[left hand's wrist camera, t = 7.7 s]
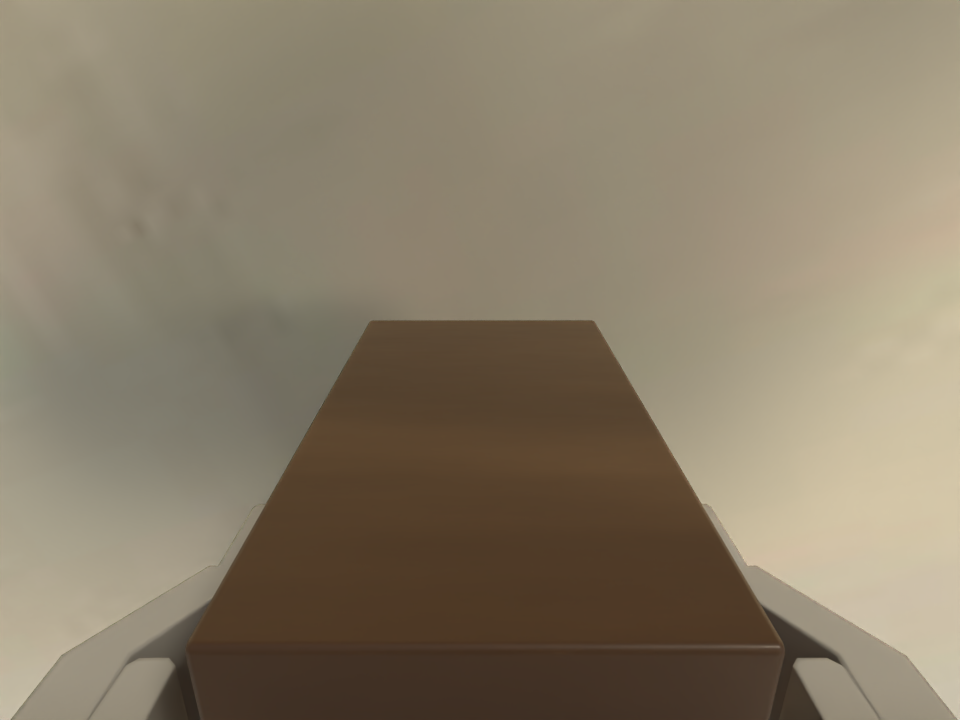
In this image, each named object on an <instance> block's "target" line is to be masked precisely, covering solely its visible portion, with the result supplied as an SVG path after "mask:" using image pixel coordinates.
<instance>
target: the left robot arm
mask: <svg viewBox="0 0 960 720" xmlns="http://www.w3.org/2000/svg"><path fill="white" fill-rule="evenodd" d="M265 505H266V504H259V505H257V506H255V507H254V508H253V509H252V510H251V512H250V514H249V515H248V517H247V519H246V520H245V522H244V524H243V525H242V527H241V529H240V530H239V532H238V534H237V535H236V537H235V539H234V540H233V542H232V544H231V545H230V547H229V549H228V550H227V552H226V554H225V555H224V557H223V559H222V560H221V562H220V564H219V565H218V566H208V567H207V568H205V569H203V570H202V571H200V572H199V573H197V574H195V575H194V576H192V577H190V578H189V579H187V580H185V581H184V582H182V583H180V584H179V585H177V586H175V587H174V588H172V589H170V590H169V591H167V592H165V593H164V594H162V595H160V596H159V597H157V598H156V599H154V600H152V601H151V602H149V603H147V604H146V605H144V606H142V607H141V608H139V609H137V610H136V611H134V612H132V613H131V614H129V615H127V616H126V617H124V618H122V619H121V620H119V621H117V622H116V623H114V624H113V625H111V626H109V627H108V628H106V629H104V630H103V631H101V632H99V633H98V634H96V635H94V636H93V637H91V638H89V639H88V640H86V641H84V642H83V643H81V644H79V645H78V646H76V647H74V648H73V649H71V650H70V651H68V652H66V653H65V654H63V655H62V656H61V657H60V658H59V659H58V661H57V662H56V663H55V664H54V666H53V667H52V668H51V669H50V671H49V672H48V673H47V674H46V676H45V677H44V678H43V680H42V681H41V682H40V683H39V685H38V686H37V687H36V688H35V690H34V691H33V692H32V693H31V695H30V696H29V697H28V698H27V700H26V701H25V702H24V703H23V705H22V706H21V707H20V709H19V710H18V711H17V712H16V714H15V715H14V716H13V717H12V719H11V720H200V715H199V711H198V707H197V702H196V698H195V694H194V690H193V685H192V681H191V677H190V672H189V668H188V664H187V659H186V655H185V647H186V644H187V642H188V640H189V638H190V636H191V635H192V633H193V631H194V629H195V628H196V626H197V624H198V622H199V621H200V619H201V617H202V615H203V614H204V612H205V610H206V608H207V607H208V605H209V603H210V601H211V600H212V598H213V596H214V594H215V592H216V591H217V589H218V587H219V585H220V584H221V582H222V580H223V578H224V577H225V575H226V573H227V571H228V570H229V568H230V566H231V564H232V563H233V561H234V559H235V557H236V556H237V554H238V552H239V550H240V549H241V547H242V545H243V543H244V542H245V540H246V538H247V536H248V535H249V533H250V531H251V529H252V528H253V526H254V524H255V522H256V521H257V519H258V517H259V515H260V514H261V512H262V510H263V508H264V507H265ZM702 506H703V507H704V509H705V511H706V513H707V514H708V516H709V518H710V519H711V521H712V523H713V524H714V526H715V528H716V530H717V531H718V533H719V535H720V536H721V538H722V540H723V541H724V543H725V545H726V547H727V548H728V550H729V552H730V553H731V555H732V557H733V558H734V560H735V562H736V564H737V565H738V567H739V569H740V570H741V572H742V574H743V575H744V577H745V579H746V581H747V582H748V584H749V586H750V587H751V589H752V591H753V593H754V594H755V596H756V598H757V599H758V601H759V603H760V604H761V606H762V608H763V610H764V611H765V613H766V615H767V616H768V618H769V620H770V621H771V623H772V625H773V627H774V628H775V630H776V632H777V633H778V635H779V637H780V638H781V640H782V642H783V645H784V648H785V655H784V659H783V664H782V668H781V672H780V676H779V680H778V684H777V689H776V693H775V697H774V701H773V705H772V709H771V714H770V718H769V720H957V718H956V717H955V716H954V715H953V713H952V712H951V711H950V710H949V708H948V707H947V706H946V705H945V703H944V702H943V701H942V700H941V698H940V697H939V696H938V695H937V693H936V692H935V691H934V690H933V688H932V687H931V686H930V685H929V683H928V682H927V681H926V680H925V678H924V677H923V676H922V675H921V673H920V672H919V671H918V670H917V668H916V667H915V666H914V665H913V663H912V662H911V661H910V660H909V658H908V657H907V656H906V655H904V654H902V653H901V652H899V651H897V650H896V649H894V648H892V647H891V646H889V645H887V644H886V643H884V642H882V641H881V640H879V639H877V638H876V637H874V636H872V635H871V634H869V633H867V632H866V631H864V630H862V629H861V628H859V627H857V626H856V625H854V624H852V623H851V622H849V621H847V620H846V619H844V618H842V617H841V616H839V615H837V614H836V613H834V612H832V611H831V610H829V609H827V608H826V607H824V606H822V605H821V604H819V603H817V602H816V601H814V600H812V599H811V598H809V597H807V596H806V595H804V594H802V593H801V592H799V591H797V590H796V589H794V588H792V587H791V586H789V585H787V584H786V583H784V582H782V581H781V580H779V579H778V578H776V577H774V576H773V575H771V574H769V573H768V572H766V571H764V570H763V569H761V568H759V567H758V566H747V564H746V562H745V561H744V559H743V558H742V556H741V554H740V553H739V551H738V549H737V548H736V546H735V545H734V543H733V541H732V540H731V538H730V537H729V535H728V533H727V532H726V530H725V528H724V527H723V525H722V524H721V522H720V520H719V519H718V517H717V516H716V514H715V512H714V511H713V509H712V508H711V506H709V505H707V504H702Z"/></svg>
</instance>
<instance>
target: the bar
mask: <svg viewBox="0 0 960 720" xmlns="http://www.w3.org/2000/svg"><path fill="white" fill-rule="evenodd" d="M185 655H186V659H187V664H188V668H189V672H190V677H191V681H192V685H193V690H194V694H195V698H196V702H197V707H198V711H199V715H200V720H769V718H770V714H771V709H772V705H773V701H774V697H775V693H776V689H777V684H778V680H779V676H780V672H781V668H782V664H783V659H784V655H785V648H784V645H783V642H782V640H781V638H780V637H779V635H778V633H777V632H776V630H775V628H774V627H773V625H772V623H771V621H770V620H769V618H768V616H767V615H766V613H765V611H764V610H763V608H762V606H761V604H760V603H759V601H758V599H757V598H756V596H755V594H754V593H753V591H752V589H751V587H750V586H749V584H748V582H747V581H746V579H745V577H744V575H743V574H742V572H741V570H740V569H739V567H738V565H737V564H736V562H735V560H734V558H733V557H732V555H731V553H730V552H729V550H728V548H727V547H726V545H725V543H724V541H723V540H722V538H721V536H720V535H719V533H718V531H717V530H716V528H715V526H714V524H713V523H712V521H711V519H710V518H709V516H708V514H707V513H706V511H705V509H704V507H703V506H702V504H701V502H700V501H699V499H698V497H697V495H696V494H695V492H694V490H693V489H692V487H691V485H690V484H689V482H688V480H687V478H686V477H685V475H684V473H683V472H682V470H681V468H680V467H679V465H678V463H677V461H676V460H675V458H674V456H673V455H672V453H671V451H670V450H669V448H668V446H667V444H666V443H665V441H664V439H663V438H662V436H661V434H660V433H659V431H658V429H657V427H656V426H655V424H654V422H653V421H652V419H651V417H650V416H649V414H648V412H647V410H646V409H645V407H644V405H643V404H642V402H641V400H640V398H639V397H638V395H637V393H636V392H635V390H634V388H633V387H632V385H631V383H630V381H629V380H628V378H627V376H626V375H625V373H624V371H623V370H622V368H621V366H620V364H619V363H618V361H617V359H616V358H615V356H614V354H613V353H612V351H611V349H610V347H609V346H608V344H607V342H606V341H605V339H604V337H603V336H602V334H601V332H600V330H599V329H598V327H597V325H596V324H595V322H594V321H370V322H369V324H368V326H367V328H366V329H365V331H364V333H363V335H362V336H361V338H360V340H359V342H358V343H357V345H356V347H355V349H354V350H353V352H352V354H351V356H350V357H349V359H348V361H347V363H346V364H345V366H344V368H343V370H342V371H341V373H340V375H339V377H338V378H337V380H336V382H335V384H334V385H333V387H332V389H331V391H330V392H329V394H328V396H327V398H326V400H325V401H324V403H323V405H322V407H321V408H320V410H319V412H318V414H317V415H316V417H315V419H314V421H313V422H312V424H311V426H310V428H309V429H308V431H307V433H306V435H305V436H304V438H303V440H302V442H301V443H300V445H299V447H298V449H297V450H296V452H295V454H294V456H293V457H292V459H291V461H290V463H289V464H288V466H287V468H286V470H285V471H284V473H283V475H282V477H281V478H280V480H279V482H278V484H277V485H276V487H275V489H274V491H273V492H272V494H271V496H270V498H269V500H268V501H267V503H266V505H265V507H264V508H263V510H262V512H261V514H260V515H259V517H258V519H257V521H256V522H255V524H254V526H253V528H252V529H251V531H250V533H249V535H248V536H247V538H246V540H245V542H244V543H243V545H242V547H241V549H240V550H239V552H238V554H237V556H236V557H235V559H234V561H233V563H232V564H231V566H230V568H229V570H228V571H227V573H226V575H225V577H224V578H223V580H222V582H221V584H220V585H219V587H218V589H217V591H216V592H215V594H214V596H213V598H212V600H211V601H210V603H209V605H208V607H207V608H206V610H205V612H204V614H203V615H202V617H201V619H200V621H199V622H198V624H197V626H196V628H195V629H194V631H193V633H192V635H191V636H190V638H189V640H188V642H187V644H186V647H185Z"/></svg>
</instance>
